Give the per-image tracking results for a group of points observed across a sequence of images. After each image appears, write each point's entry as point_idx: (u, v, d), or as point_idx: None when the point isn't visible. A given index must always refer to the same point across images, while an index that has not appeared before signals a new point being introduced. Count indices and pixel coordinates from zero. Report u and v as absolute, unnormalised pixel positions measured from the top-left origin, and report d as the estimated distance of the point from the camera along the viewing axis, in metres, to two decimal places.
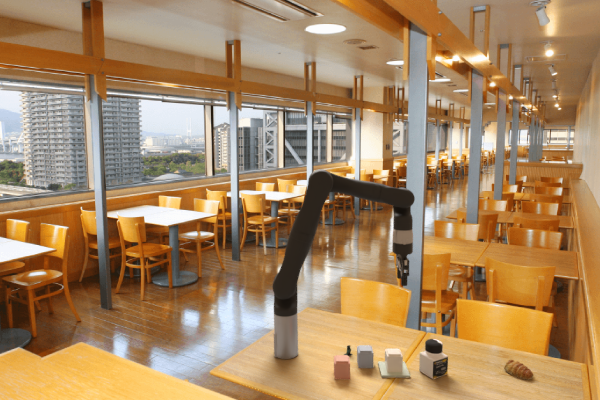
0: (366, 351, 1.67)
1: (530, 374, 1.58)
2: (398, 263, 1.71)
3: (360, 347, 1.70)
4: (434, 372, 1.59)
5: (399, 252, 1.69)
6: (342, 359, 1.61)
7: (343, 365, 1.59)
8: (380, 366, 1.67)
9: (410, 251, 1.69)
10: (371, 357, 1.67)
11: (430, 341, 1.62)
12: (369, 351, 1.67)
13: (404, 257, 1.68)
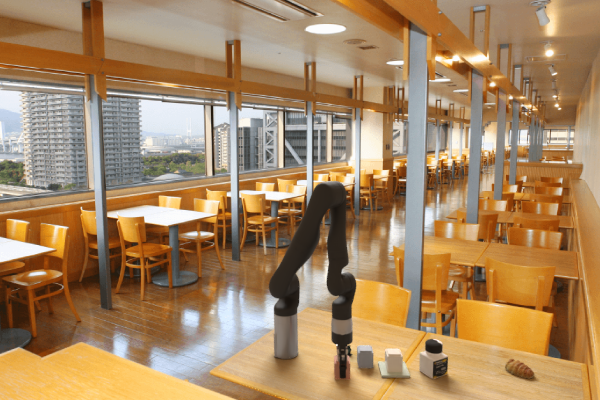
0: (366, 351, 1.67)
1: (531, 372, 1.59)
2: (337, 353, 1.60)
3: (360, 347, 1.70)
4: (434, 372, 1.59)
5: (337, 342, 1.58)
6: None
7: None
8: (380, 366, 1.67)
9: (349, 341, 1.58)
10: (371, 357, 1.67)
11: (430, 341, 1.62)
12: (369, 351, 1.67)
13: (342, 348, 1.57)
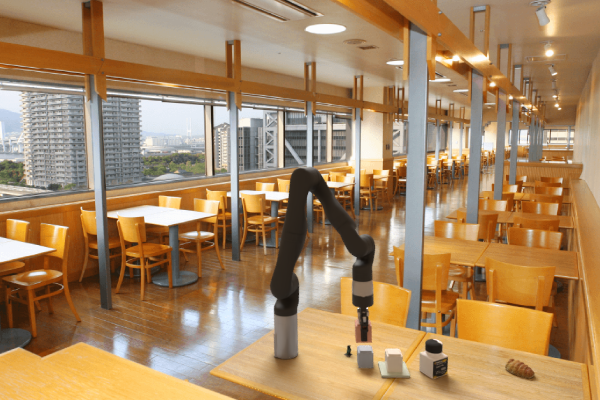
0: (366, 351, 1.67)
1: (532, 372, 1.59)
2: (358, 316, 1.59)
3: (360, 347, 1.70)
4: (434, 372, 1.59)
5: (358, 305, 1.56)
6: None
7: None
8: (380, 366, 1.67)
9: (370, 303, 1.56)
10: (371, 357, 1.67)
11: (430, 341, 1.62)
12: (369, 351, 1.67)
13: (363, 310, 1.56)
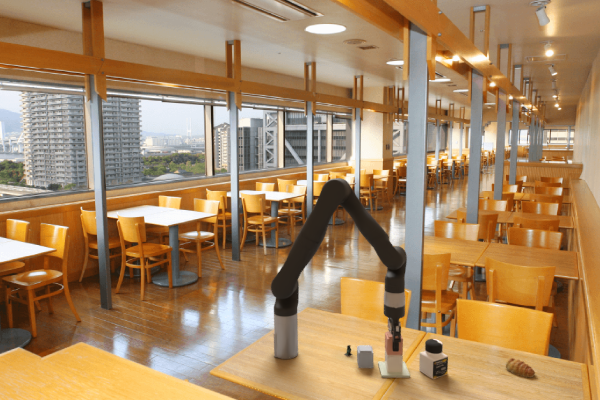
0: (366, 351, 1.67)
1: (532, 371, 1.59)
2: (389, 326, 1.62)
3: (360, 347, 1.70)
4: (434, 372, 1.59)
5: (390, 316, 1.59)
6: None
7: None
8: (380, 366, 1.67)
9: (402, 314, 1.59)
10: (371, 357, 1.67)
11: (430, 341, 1.62)
12: (369, 351, 1.67)
13: (396, 321, 1.59)
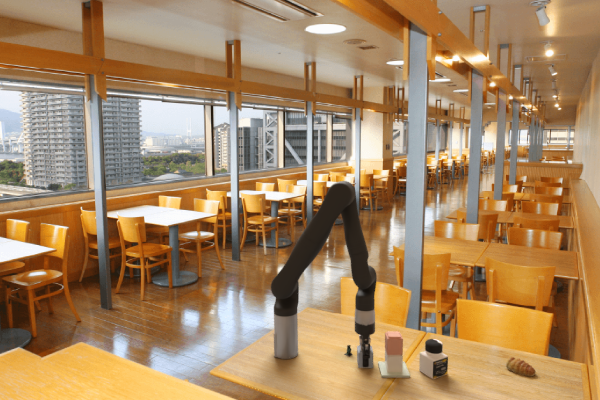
0: None
1: (533, 370, 1.60)
2: (360, 342, 1.68)
3: (360, 347, 1.70)
4: (434, 372, 1.59)
5: (361, 333, 1.65)
6: (394, 335, 1.63)
7: (396, 340, 1.61)
8: (380, 366, 1.67)
9: (372, 331, 1.65)
10: (371, 357, 1.67)
11: (430, 341, 1.62)
12: None
13: (366, 338, 1.65)
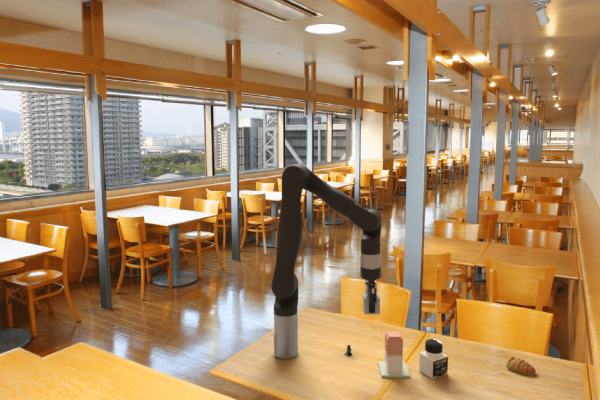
0: None
1: (533, 369, 1.61)
2: (366, 288, 1.64)
3: (366, 293, 1.66)
4: (434, 372, 1.59)
5: (367, 277, 1.61)
6: (394, 335, 1.63)
7: (396, 340, 1.61)
8: (380, 366, 1.67)
9: (378, 276, 1.62)
10: (377, 302, 1.63)
11: (430, 341, 1.62)
12: None
13: (372, 282, 1.61)
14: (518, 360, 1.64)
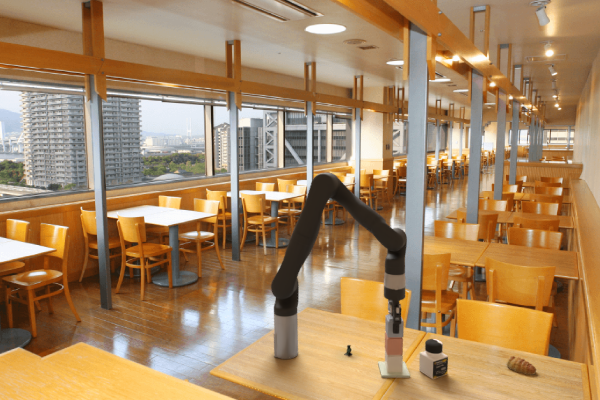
0: (396, 319, 1.61)
1: (534, 368, 1.61)
2: (390, 309, 1.61)
3: (389, 316, 1.63)
4: (434, 372, 1.59)
5: (391, 298, 1.58)
6: None
7: (396, 340, 1.61)
8: (380, 366, 1.67)
9: (402, 296, 1.58)
10: (401, 325, 1.60)
11: (430, 341, 1.62)
12: None
13: (396, 303, 1.58)
14: (518, 359, 1.65)
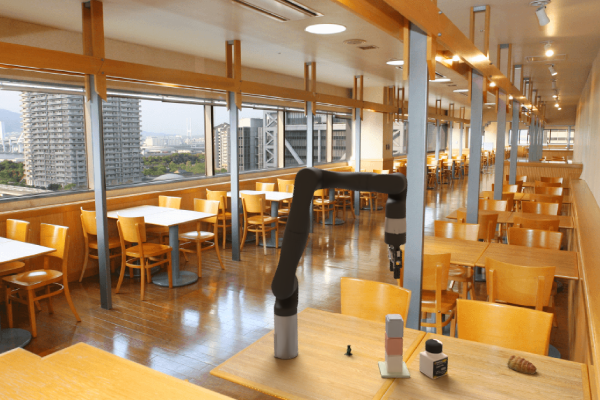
0: (396, 319, 1.61)
1: (534, 367, 1.62)
2: (390, 254, 1.58)
3: (389, 316, 1.63)
4: (434, 372, 1.59)
5: (391, 242, 1.55)
6: None
7: (396, 340, 1.61)
8: (380, 366, 1.67)
9: (403, 241, 1.56)
10: (401, 325, 1.60)
11: (430, 341, 1.62)
12: (399, 319, 1.60)
13: (397, 248, 1.55)
14: (519, 358, 1.66)
